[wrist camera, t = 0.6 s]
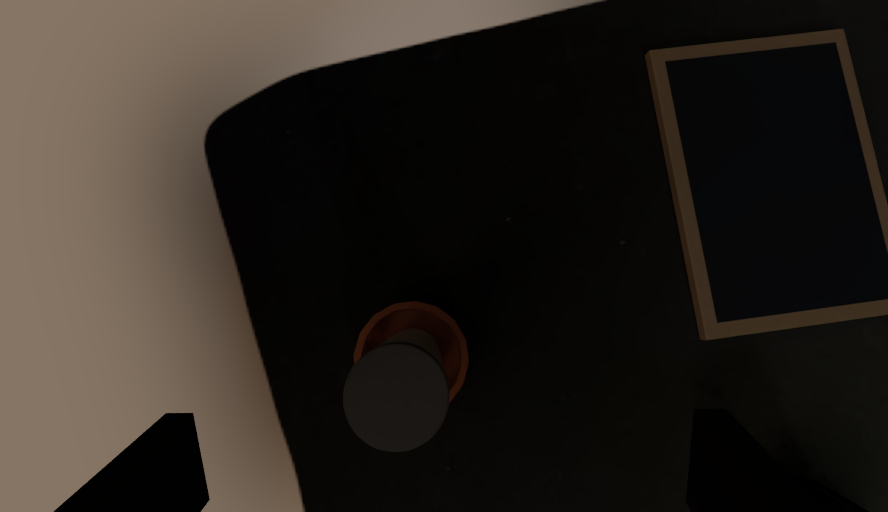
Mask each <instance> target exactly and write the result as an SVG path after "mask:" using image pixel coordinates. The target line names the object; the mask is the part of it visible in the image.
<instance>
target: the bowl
mask: <svg viewBox="0 0 888 512" xmlns="http://www.w3.org/2000/svg"><path fill="white" fill-rule="evenodd" d="M406 328H420V329H423V330H425V331H427V332H429V333H430V334H431V335H432V336H433V337H434V338H435V340H436V342H437V344H438V347H439V350H440V354H441V358H442V362H443V366H444V370H445V374H446V378H447V382H448V387H449V402H451V400H452V399H453V398H454V396H455V395H456V394H457V392H458V391H459V390H460V388H461V387H462V386H463V384H464V380H465V376H466V372H467V368H468V364H469V358H468V351H467V343H466V340H465V337H464V335H463V333H462V332H461V330H460V328H459V326H458V325H457V323H456V321H455V320H454V319H453V318H452V317H450V316H449V315H448V314H446V313H445V312H444V311H442V310H441V309H440V308H439V307H437V306H434V305H430V304H426V303H423V302H419V301H409V302H401V303H394V304H392V305H390V306H388V307H387V308H385V309H383V310H381V311H380V312H378V313H376V314H375V315H373V317H372V318H371V319H370V321H369V322H368V323H367V324H366V326H365V327H364V328H363V330H362V331H361V332H360V335H359V338H358V342H357V345H356V349H355V352H354V362H355V363H356V362H357V361H358V360H359V359H360V358H361V357H362V356H363V355H364V354H366V353H367V352H369V351H370V350H372V349H373V348H375V347H376V346H378V345H379V344H381V343H383V342H384V341H386V340H387V339H389V338H390V337H392V336H393V335H395V334H397V333H398V332H400V331H401V330H404V329H406Z"/></svg>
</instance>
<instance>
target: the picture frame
mask: <svg viewBox="0 0 888 512" xmlns="http://www.w3.org/2000/svg"><path fill="white" fill-rule="evenodd" d="M645 59H646V64H647V69H648V75H649V80H650V85H651V90H652V95H653V100H654V105H655V111H656V116H657V121H658V126H659V131H660V136H661V141H662V146H663V152H664V157H665V162H666V167H667V172H668V177H669V182H670V187H671V193H672V198H673V203H674V208H675V213H676V218H677V223H678V229H679V234H680V239H681V244H682V249H683V254H684V259H685V264H686V270H687V275H688V280H689V285H690V290H691V295H692V300H693V305H694V311H695V316H696V321H697V326H698V331H699V336H700V339H701V340H712V339H719V338H726V337H733V336H740V335H747V334H754V333H761V332H768V331H775V330H783V329H790V328H797V327H804V326H811V325H818V324H825V323H832V322H839V321H846V320H853V319H860V318H867V317H875V316H882V315H888V205H887V201H886V197H885V193H884V189H883V185H882V181H881V177H880V173H879V169H878V165H877V161H876V157H875V153H874V149H873V145H872V141H871V137H870V133H869V129H868V125H867V121H866V117H865V113H864V109H863V105H862V101H861V96H860V92H859V88H858V84H857V80H856V76H855V72H854V68H853V64H852V60H851V56H850V52H849V48H848V44H847V40H846V36H845V32H844V29H836V30H827V31H818V32H809V33H800V34H791V35H782V36H773V37H764V38H755V39H746V40H737V41H728V42H719V43H710V44H701V45H692V46H683V47H674V48H665V49H656V50H649V51H648V53H647V54H646V55H645Z"/></svg>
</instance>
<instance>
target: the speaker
mask: <svg viewBox="0 0 888 512" xmlns="http://www.w3.org/2000/svg"><path fill="white" fill-rule="evenodd" d="M790 476H791V478H792V479H793V480H794V481H795V482H796V483H797V484H798V485H799V486H800V487H801V488H802V489H803V490H804V491H805V492H806V493H807V494H808V495H809V496H810V497H811V498H812V499H813V501H814V502H815V503H816V504H817V505H818V506H819V507H820V508H821V509H822V510H823V511H824V512H868V511H867V510H865V509H863V508H862V507H860V506H858V505H857V504H855V503H853V502H851V501H850V500H848V499H846V498H845V497H843V496H841V495H840V494H838V493H836V492H834V491H833V490H831V489H829V488H828V487H826V486H824V485H823V484H821V483H819V482H818V481H816V480H814V479H812V480H808V482H809V483H808V482H806V481H804V480H803V479H801V478H799V477H798V476H796V475H790Z"/></svg>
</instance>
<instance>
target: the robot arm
mask: <svg viewBox="0 0 888 512" xmlns="http://www.w3.org/2000/svg"><path fill="white" fill-rule="evenodd" d="M209 500H210V499H209V494H208V489H207V484H206V478H205V473H204V468H203V463H202V458H201V452H200V447H199V442H198V437H197V431H196V426H195V421H194V416H193V413H166V414H165V415H163V416H162V417H161V418H160V419H159V420H158V421H157V422H155V423H154V424H153V425H152V426H151V427H150V428H149V429H147V430H146V431H145V432H144V433H143V434H142V435H141V436H139V437H138V438H137V439H136V440H135V441H134V442H133V443H131V445H129V446H128V447H127V448H126V449H125V450H123V451H122V452H121V453H120V454H119V455H118V456H117V457H116V458H114V459H113V460H112V461H111V462H110V463H109V464H107V466H105V467H104V468H103V469H102V470H101V471H99V472H98V473H97V474H96V475H95V476H94V477H93V478H91V479H90V480H89V481H88V482H87V483H86V484H85V485H83V486H82V487H81V488H80V489H79V490H78V491H77V492H75V493H74V494H73V495H72V496H71V497H70V498H69V499H67V500H66V501H65V502H64V503H63V504H62V505H61V506H59V507H58V508H57V509H56V510H55V511H54V512H201V510H202V509H203V508H204V506H205V505H206V504H207V502H208V501H209ZM686 503H687V505H688V507H689V508H690V510H691V512H824V511H823V510H822V509H821V508H820V507H819V506H818V505H817V504H816V503H815V502H814V501H813V499H812V498H811V497H810V496H809V495H808V494H807V493H806V492H805V491H804V490H803V489H802V488H801V487H800V486H799V485H798V484H797V483H796V482H795V481H794V480H793V479H792V478H791V476H790V475H789V474H788V473H787V472H786V471H785V470H784V469H783V468H782V467H781V466H780V465H779V464H778V463H777V462H776V461H775V460H774V459H773V458H772V457H771V456H770V455H769V453H768V452H767V451H766V450H765V449H764V448H763V447H762V446H761V445H760V444H759V443H758V442H757V441H756V440H755V439H754V438H753V437H752V436H751V435H750V434H749V433H748V432H747V431H746V429H745V428H744V427H743V426H742V425H741V424H740V423H739V422H738V421H737V420H736V419H735V418H734V417H733V416H732V415H731V414H730V413H729V412H728V411H727V410H726V409H694V416H693V427H692V439H691V450H690V462H689V473H688V485H687V496H686Z"/></svg>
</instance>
